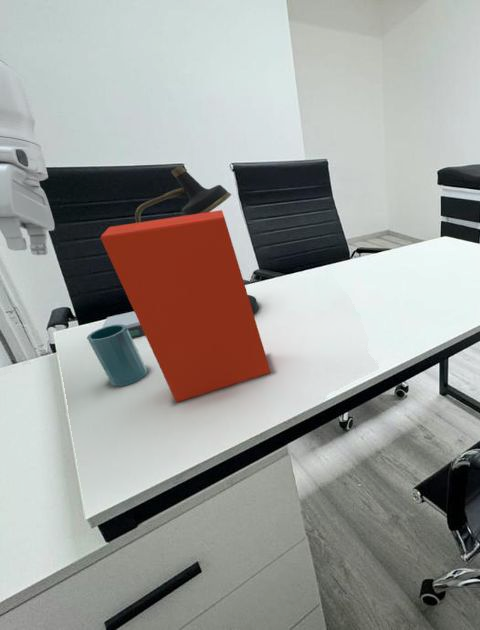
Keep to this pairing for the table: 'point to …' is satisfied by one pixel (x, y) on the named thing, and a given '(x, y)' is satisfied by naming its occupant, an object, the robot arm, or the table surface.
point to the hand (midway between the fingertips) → (30, 252)
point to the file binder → (189, 300)
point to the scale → (126, 323)
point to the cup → (117, 354)
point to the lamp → (195, 202)
